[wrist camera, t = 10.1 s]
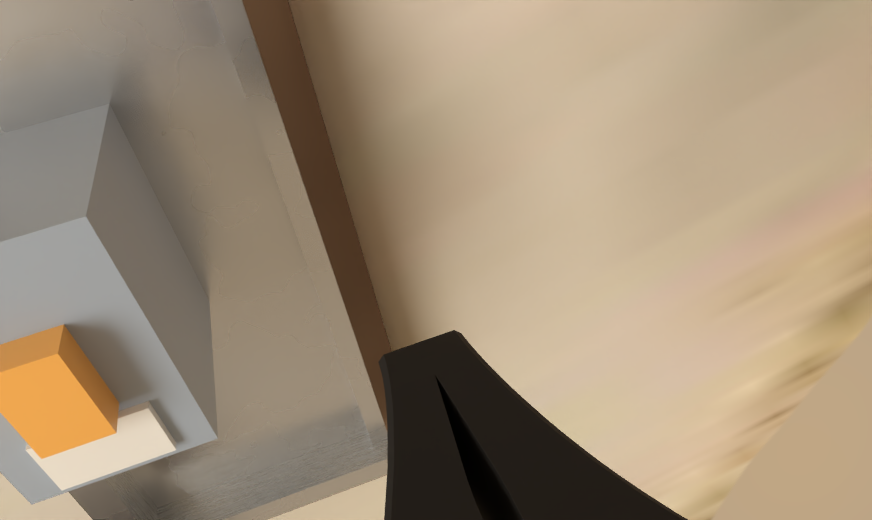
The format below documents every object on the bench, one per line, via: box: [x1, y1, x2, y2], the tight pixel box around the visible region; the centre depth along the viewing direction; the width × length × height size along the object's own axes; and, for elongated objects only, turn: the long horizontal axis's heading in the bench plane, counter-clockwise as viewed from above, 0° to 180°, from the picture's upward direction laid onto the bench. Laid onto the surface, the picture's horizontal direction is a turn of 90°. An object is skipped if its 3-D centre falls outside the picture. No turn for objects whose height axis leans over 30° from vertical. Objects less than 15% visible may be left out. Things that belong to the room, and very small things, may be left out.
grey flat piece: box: [0, 0, 388, 520], centre depth 17 cm, size 9×22×2 cm, turn 9°
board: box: [242, 0, 392, 429], centre depth 18 cm, size 11×26×1 cm, turn 9°
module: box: [0, 104, 218, 504], centre depth 14 cm, size 4×6×6 cm, turn 9°
